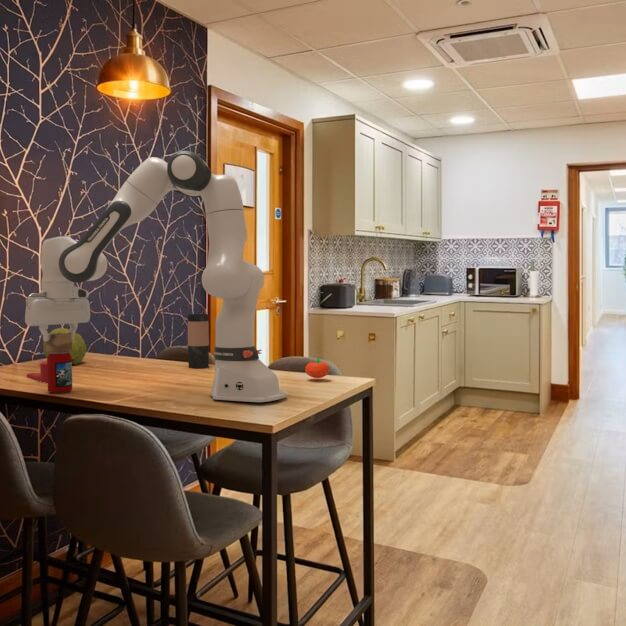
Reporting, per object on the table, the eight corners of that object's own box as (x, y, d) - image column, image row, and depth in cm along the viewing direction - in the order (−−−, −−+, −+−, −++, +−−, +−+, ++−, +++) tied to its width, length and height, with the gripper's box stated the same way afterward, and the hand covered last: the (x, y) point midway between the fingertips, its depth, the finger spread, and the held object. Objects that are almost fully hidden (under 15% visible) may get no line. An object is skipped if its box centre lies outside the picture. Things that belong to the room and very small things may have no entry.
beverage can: (64, 394, 193) (63, 352, 192) (42, 393, 194) (41, 352, 194) (77, 390, 200) (76, 350, 199) (56, 390, 201) (55, 349, 200)
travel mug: (213, 368, 249) (212, 314, 248) (199, 370, 242) (198, 315, 241) (197, 366, 253) (197, 313, 252) (183, 369, 247) (182, 314, 246)
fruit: (76, 371, 241) (75, 329, 240) (36, 371, 241) (35, 329, 240) (91, 365, 257) (91, 326, 256) (54, 365, 257) (53, 326, 256)
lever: (78, 382, 218) (78, 361, 217) (54, 386, 209) (53, 365, 209) (41, 378, 226) (40, 358, 226) (16, 382, 218) (16, 361, 218)
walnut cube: (72, 350, 197) (71, 333, 197) (57, 352, 193) (57, 334, 193) (60, 350, 200) (60, 333, 200) (46, 351, 195) (45, 334, 195)
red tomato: (307, 375, 229) (307, 357, 229) (330, 376, 228) (330, 357, 227) (302, 378, 222) (302, 359, 222) (326, 379, 221) (326, 360, 220)
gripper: (33, 293, 185) (35, 343, 186) (93, 291, 202) (94, 337, 203) (19, 293, 188) (20, 342, 189) (78, 291, 206) (79, 336, 206)
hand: (59, 340), depth 196 cm, fingers open, 7 cm apart
